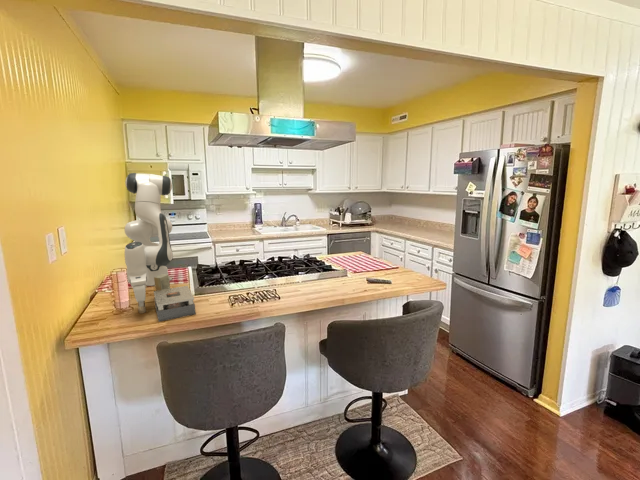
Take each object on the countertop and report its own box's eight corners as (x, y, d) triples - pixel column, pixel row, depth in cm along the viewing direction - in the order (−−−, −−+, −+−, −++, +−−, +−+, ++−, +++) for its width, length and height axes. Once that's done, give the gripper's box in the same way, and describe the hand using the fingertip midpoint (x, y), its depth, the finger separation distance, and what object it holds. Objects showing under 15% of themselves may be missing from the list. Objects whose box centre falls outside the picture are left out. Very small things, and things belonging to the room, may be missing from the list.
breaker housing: (155, 306, 171) (153, 291, 170) (188, 300, 179) (187, 285, 177) (158, 321, 154) (156, 304, 153) (195, 314, 162) (194, 297, 160)
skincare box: (165, 294, 188) (163, 273, 185) (171, 295, 186) (169, 274, 184) (155, 298, 182) (153, 276, 179) (162, 299, 180) (159, 277, 178)
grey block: (138, 311, 166) (136, 298, 164) (145, 310, 167) (144, 297, 166) (138, 313, 163) (137, 301, 162) (146, 312, 165) (144, 299, 163)
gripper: (130, 272, 169) (133, 298, 172) (130, 283, 151) (134, 312, 154) (144, 270, 172) (147, 295, 175) (146, 281, 154) (149, 309, 157)
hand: (141, 304), depth 164 cm, fingers open, 5 cm apart
